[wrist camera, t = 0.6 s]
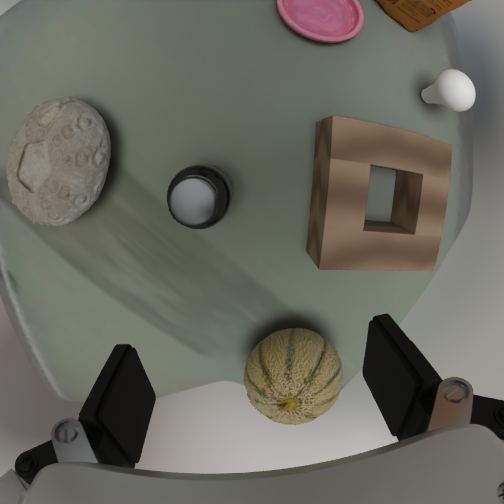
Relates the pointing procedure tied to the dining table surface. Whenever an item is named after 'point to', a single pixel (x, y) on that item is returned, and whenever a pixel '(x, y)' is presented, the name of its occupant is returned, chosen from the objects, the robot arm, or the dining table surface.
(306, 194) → the dining table surface
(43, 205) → the grey rounded lump
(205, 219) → the supplement bottle
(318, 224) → the socket block
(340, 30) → the saucer
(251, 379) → the cantaloupe
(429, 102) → the lightbulb
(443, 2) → the coffee package
